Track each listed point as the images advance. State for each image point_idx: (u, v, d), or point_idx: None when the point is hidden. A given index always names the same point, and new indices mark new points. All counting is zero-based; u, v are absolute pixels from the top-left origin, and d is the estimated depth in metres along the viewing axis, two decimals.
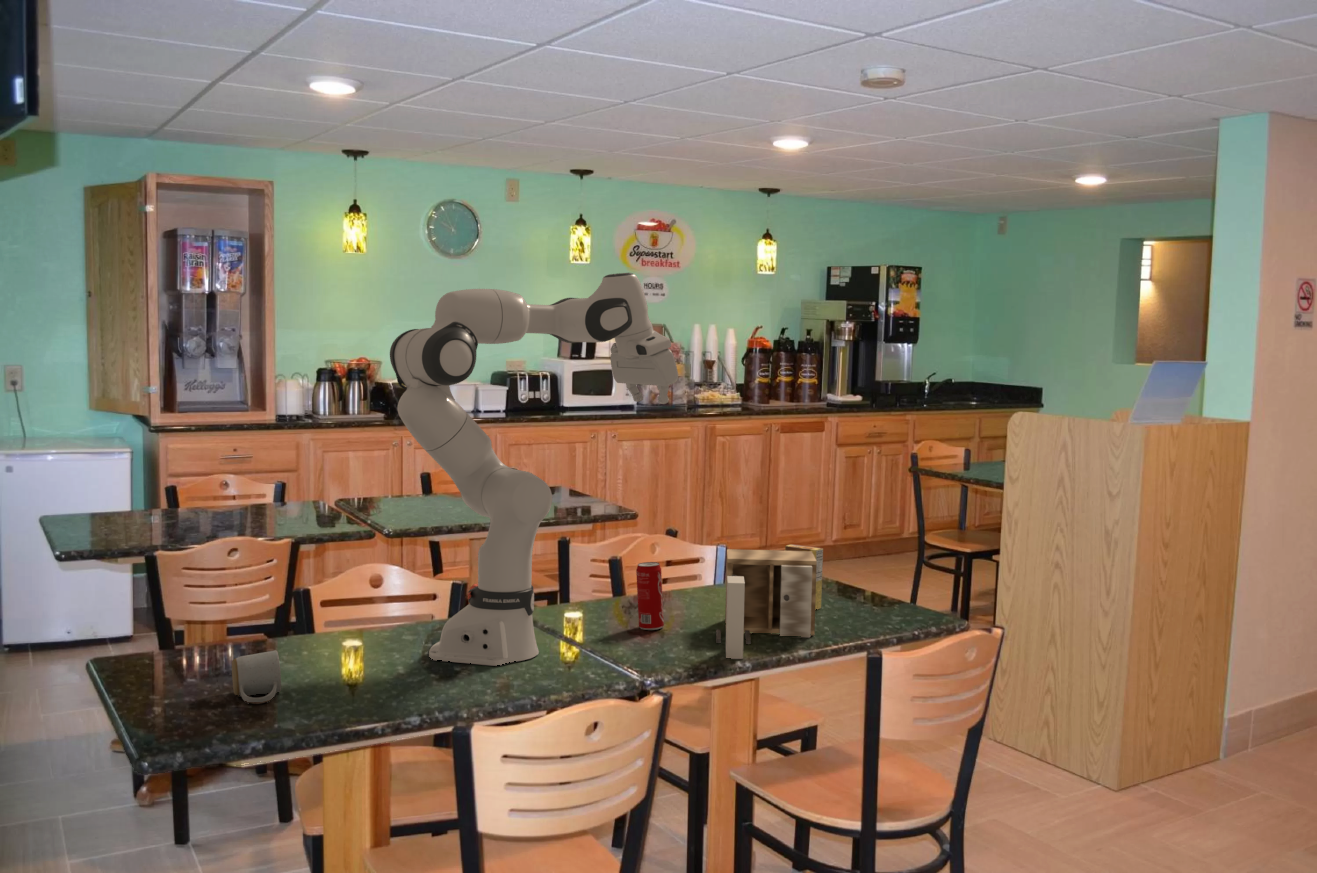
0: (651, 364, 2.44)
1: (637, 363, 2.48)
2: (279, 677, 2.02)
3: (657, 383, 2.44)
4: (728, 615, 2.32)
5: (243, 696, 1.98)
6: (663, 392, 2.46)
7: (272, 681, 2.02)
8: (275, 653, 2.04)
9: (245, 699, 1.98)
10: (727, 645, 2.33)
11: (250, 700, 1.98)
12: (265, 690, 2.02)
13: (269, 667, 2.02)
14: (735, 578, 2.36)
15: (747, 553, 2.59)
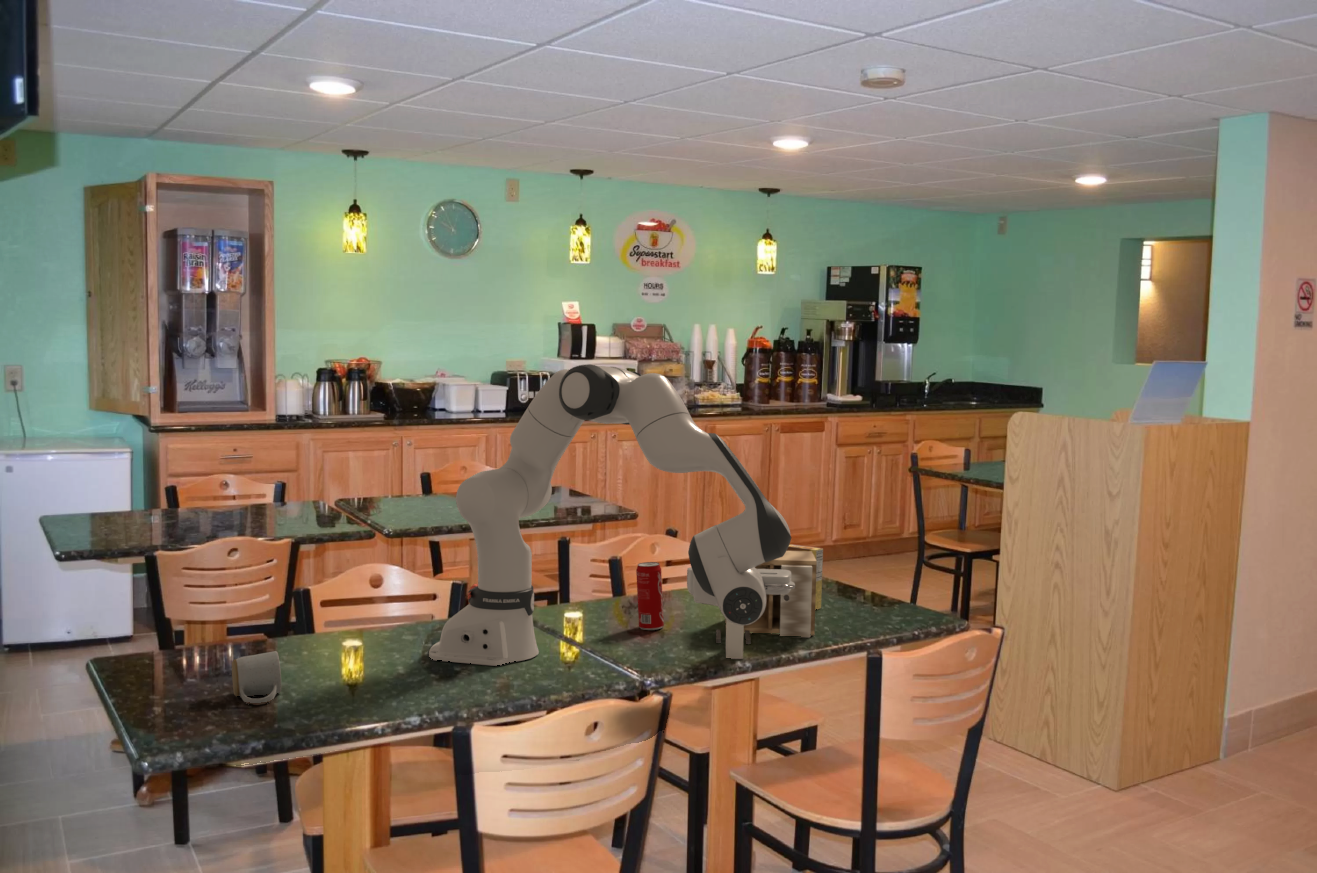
0: None
1: None
2: (279, 678, 2.02)
3: None
4: None
5: (243, 697, 1.98)
6: None
7: (272, 682, 2.01)
8: (275, 654, 2.04)
9: (245, 700, 1.98)
10: (727, 645, 2.33)
11: (250, 701, 1.97)
12: (265, 691, 2.01)
13: (269, 668, 2.01)
14: None
15: None
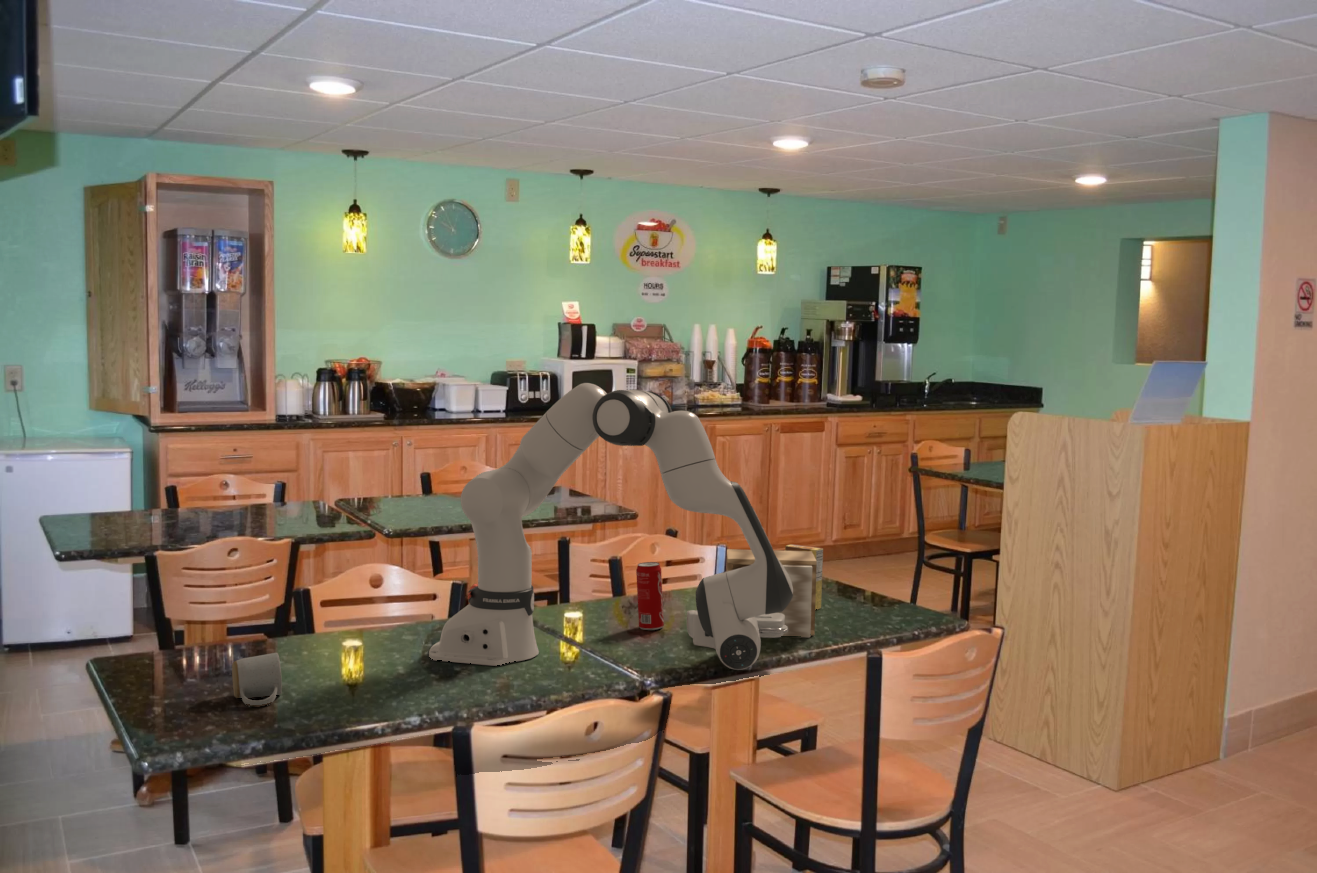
0: None
1: None
2: (280, 680, 2.00)
3: None
4: None
5: (243, 699, 1.97)
6: None
7: (273, 684, 2.00)
8: (276, 656, 2.03)
9: (245, 702, 1.97)
10: None
11: (251, 703, 1.96)
12: (266, 693, 2.00)
13: (269, 669, 2.00)
14: None
15: (747, 553, 2.59)
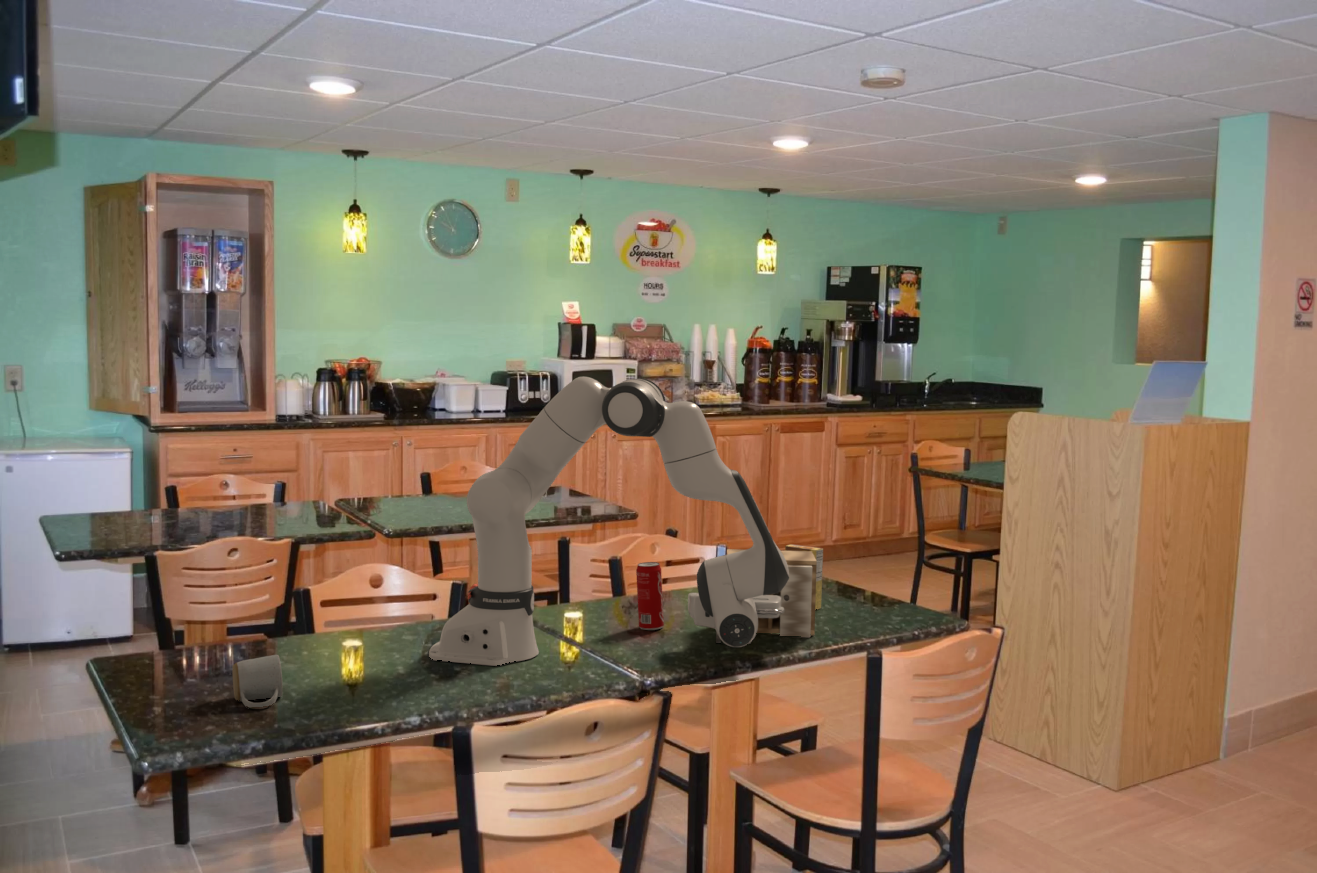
0: None
1: None
2: (280, 682, 1.99)
3: None
4: None
5: (244, 701, 1.96)
6: None
7: (273, 686, 1.99)
8: (276, 658, 2.01)
9: (246, 704, 1.95)
10: None
11: (251, 705, 1.95)
12: (266, 695, 1.99)
13: (270, 671, 1.99)
14: None
15: None
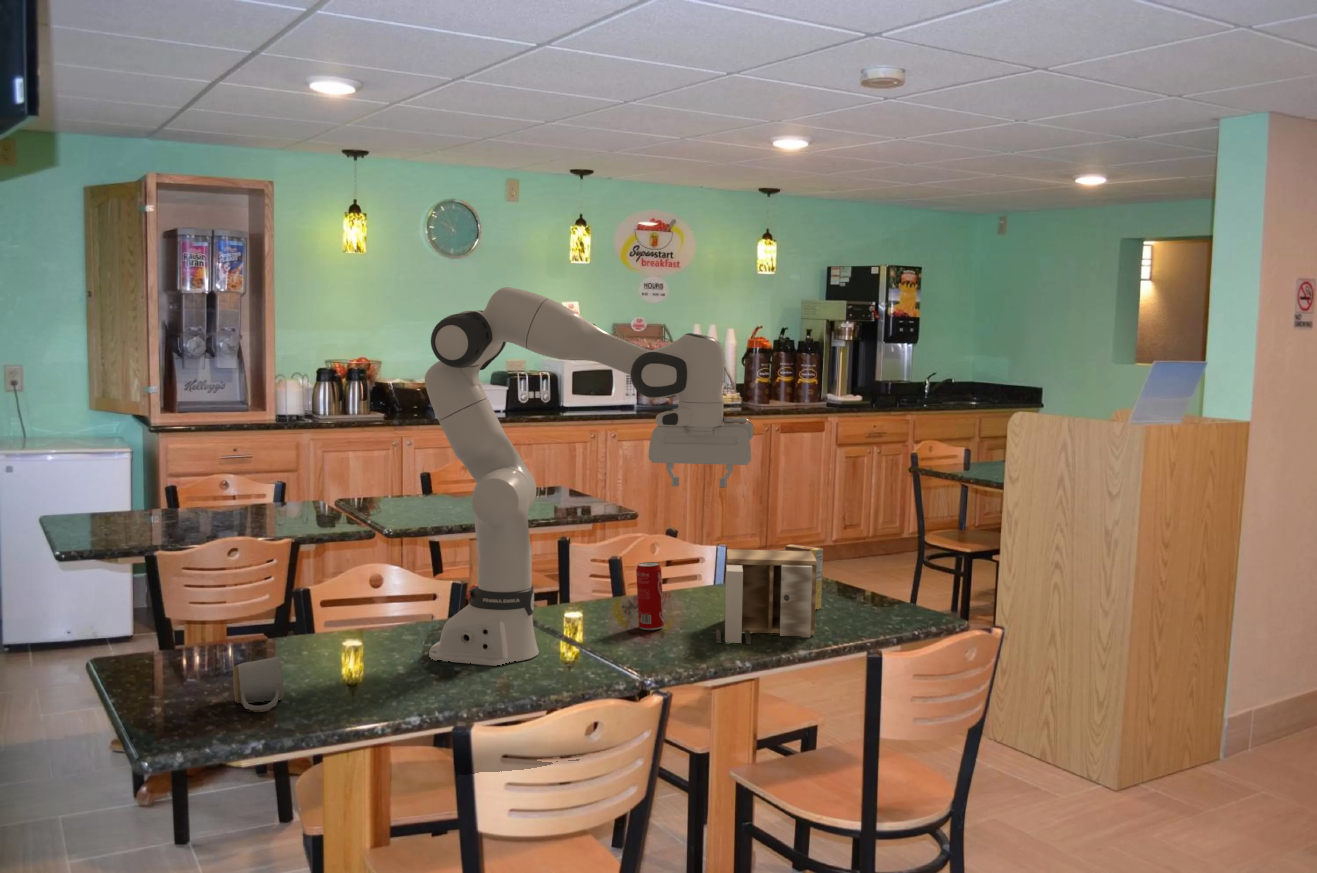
0: None
1: None
2: (281, 684, 1.98)
3: None
4: (727, 602, 2.44)
5: (245, 704, 1.94)
6: None
7: (274, 688, 1.97)
8: (277, 660, 2.00)
9: (247, 707, 1.94)
10: (726, 630, 2.44)
11: (252, 708, 1.94)
12: (267, 698, 1.98)
13: (271, 674, 1.97)
14: (734, 567, 2.48)
15: (747, 553, 2.59)
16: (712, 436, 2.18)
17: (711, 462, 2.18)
